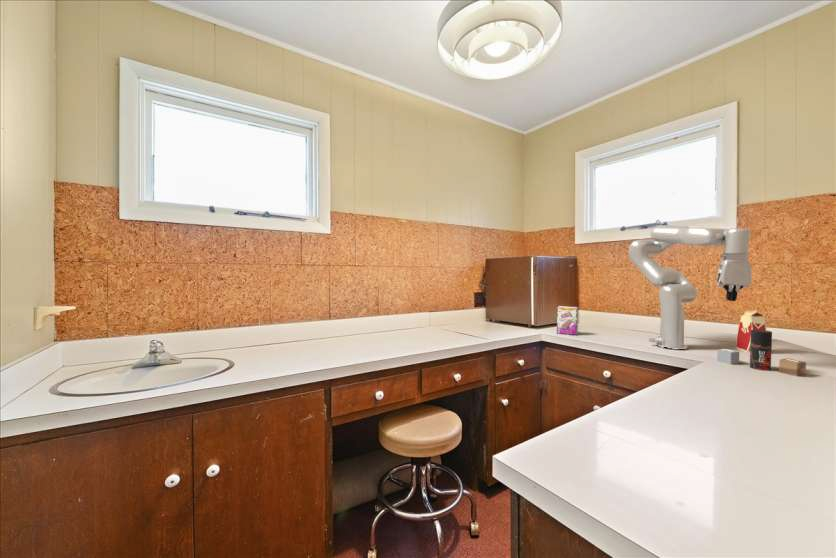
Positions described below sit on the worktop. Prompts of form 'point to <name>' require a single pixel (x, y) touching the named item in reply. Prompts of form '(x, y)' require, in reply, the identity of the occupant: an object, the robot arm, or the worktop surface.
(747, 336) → the milk carton
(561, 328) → the candy bar box
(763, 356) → the deodorant
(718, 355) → the grey block
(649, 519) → the worktop surface
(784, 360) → the walnut block
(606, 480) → the worktop surface
